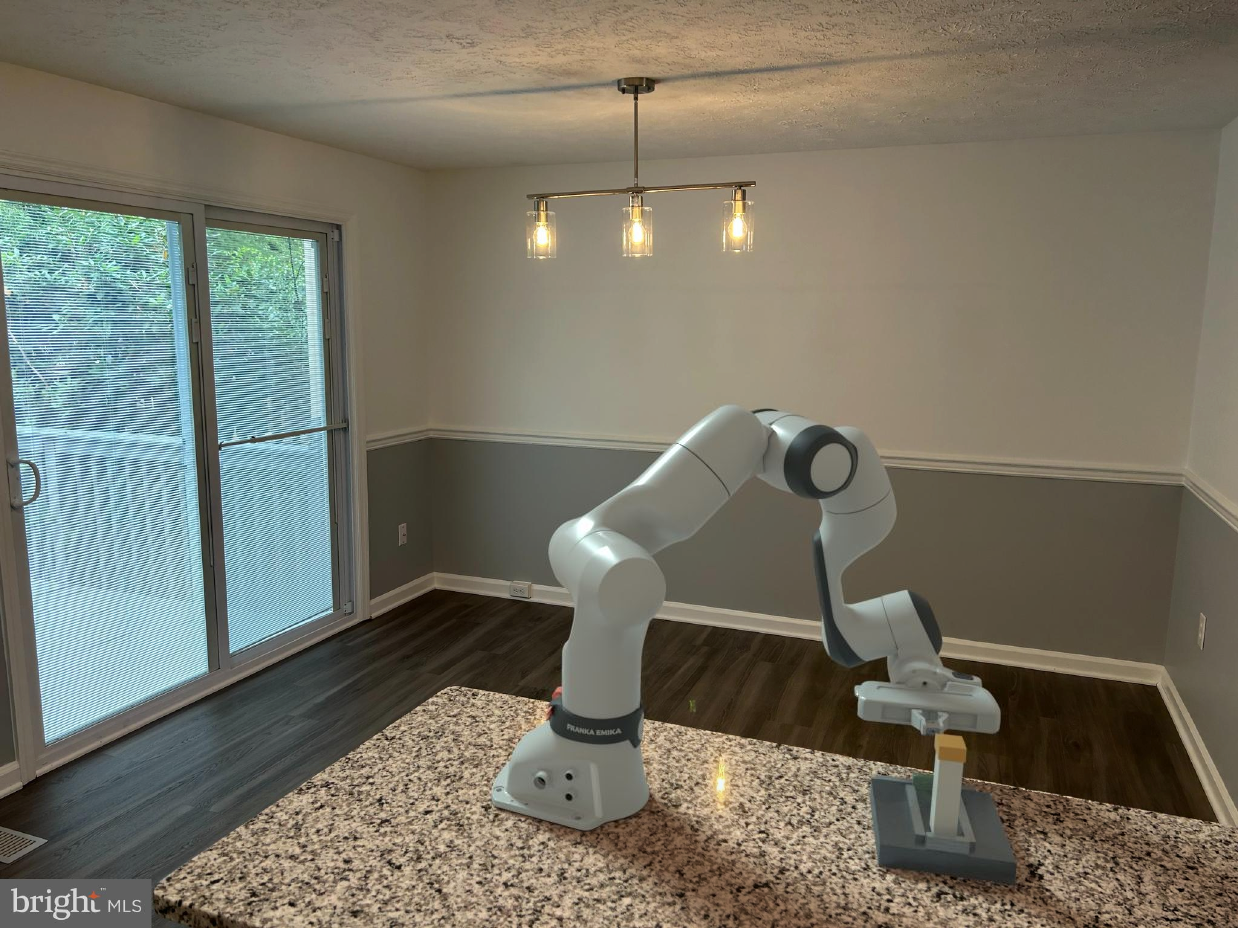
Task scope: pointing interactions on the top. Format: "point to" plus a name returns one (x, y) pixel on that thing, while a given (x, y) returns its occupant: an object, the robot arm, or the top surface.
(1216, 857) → the top surface
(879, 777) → the dark grey flat bar
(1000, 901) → the top surface
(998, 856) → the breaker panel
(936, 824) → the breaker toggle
